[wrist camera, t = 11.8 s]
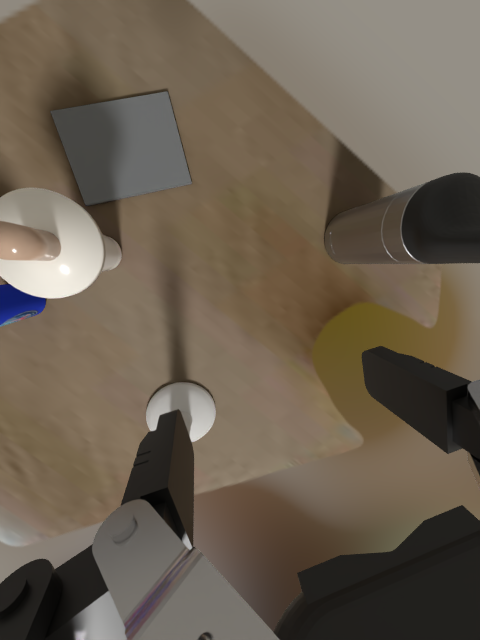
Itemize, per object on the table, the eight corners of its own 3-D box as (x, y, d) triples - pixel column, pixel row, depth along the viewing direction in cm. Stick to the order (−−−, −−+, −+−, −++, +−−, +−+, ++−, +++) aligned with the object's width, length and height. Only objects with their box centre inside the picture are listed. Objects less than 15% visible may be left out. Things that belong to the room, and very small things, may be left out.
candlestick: (133, 402, 45) (19, 654, 16) (196, 370, 45) (197, 554, 17) (168, 453, 48) (127, 734, 19) (226, 422, 49) (270, 648, 20)
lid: (82, 180, 23) (45, 153, 18) (120, 283, 26) (98, 288, 20) (-31, 203, 22) (-110, 182, 17) (20, 308, 25) (-33, 321, 19)
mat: (168, 94, 35) (167, 91, 35) (191, 183, 38) (191, 182, 38) (52, 113, 34) (50, 111, 33) (87, 206, 37) (85, 205, 36)
